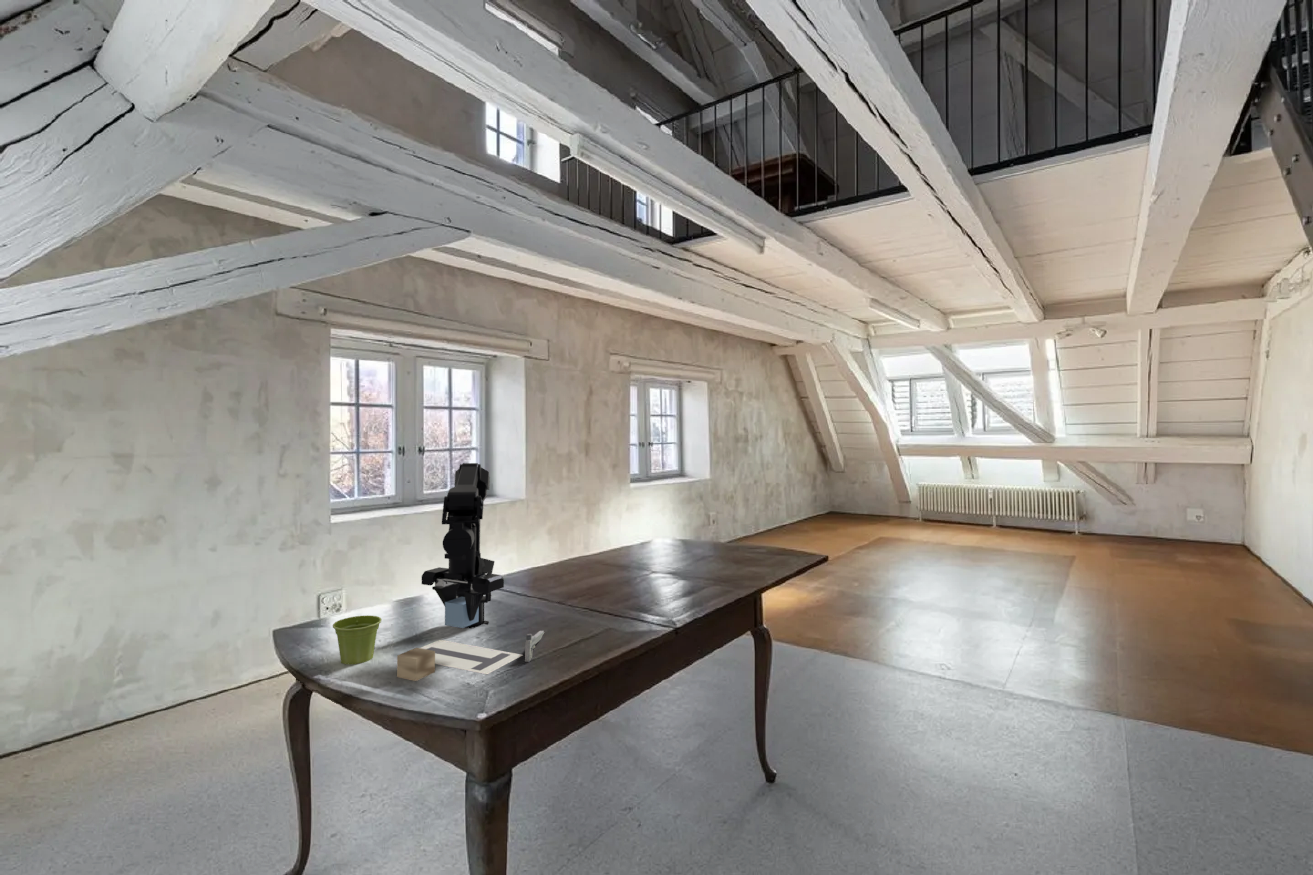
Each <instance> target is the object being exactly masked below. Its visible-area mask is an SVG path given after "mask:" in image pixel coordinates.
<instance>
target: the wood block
mask: <svg viewBox="0 0 1313 875" xmlns="http://www.w3.org/2000/svg"><path fill="white" fill-rule="evenodd" d="M396 660H397V662H396V663H397V666H396V668H397V670H396V671H397V672H396V678H400V679H405V680H410V681H414V682H417V681H419V680H421V679H424V678H426V677H427V676H430V675H432V674H434V673H436V664H435V651H432V650H427V649H422V648H421V647H415V648H412V649H410V650H407V651H405V652H402V653H399V654H398V655H397V656H396Z"/></svg>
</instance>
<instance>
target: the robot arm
mask: <svg viewBox="0 0 1313 875" xmlns="http://www.w3.org/2000/svg"><path fill="white" fill-rule="evenodd" d="M490 478H491V477H490V473H489V470H486V469H485V468H483V467H482V464H481V463H478V462H471V463H470V462H469V463H468V462H465V463H462V464H461V463H460V464H459V468H458V469H457V470H455V473H454V486H453V487H451V488H450V489H449V490H448V492H447V494H446V496H444V498H443V506H442V516H441V525H448V531H447V532H446V534H445V535H444V536H443V540H442V548H443V550H444V552H445V553H444V559H447V560H448V568H447V567H439V566H438V567H436V568H433V569H428V570H424V571H423V573H422V575H421V585H424V586H432V585H433V584H434V586H432V587H431V588H432V590H434V591H435V592H436V594H437V596H438V598H439V599H440V600H441V603H442V604H443V607H445V602H447V601H450V600H453V599H456V598H459V597H465V601H466V607H467V614H468V618H469V621H472V620H474V618H475V615H476V612H477V609H478V607H479V622H477V623H474V624H472V625H469V626H467V627H464V628H466V629H475V628H477V627H480V626H483V625H488V624H490V622H489V620H485V604H488V603H489V602H491V601H492V592H494V591H498V590H501V589H503V588H504V587H505V579H504V577H503V575H501V574H495V573H493V570H494V566H495V560H491V559H488V558H484V557H482V556H481V554H482V553H481V520H483V516H484V505H485V503H484V502H485V500H486V498H487V496H488V491H490V485H491V484H490V483H491V481H490ZM464 628H463V629H464Z"/></svg>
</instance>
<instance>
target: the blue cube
mask: <svg viewBox="0 0 1313 875" xmlns="http://www.w3.org/2000/svg"><path fill="white" fill-rule="evenodd" d="M477 622H479V607H478V609H477V612H476V615H475V618H474V620H472V621H469V618H468V614H467V607H466V601H465V597H459V598H456V599H453V600H450V601H447V602H445V606H444V626H447V627H454V628H460V629H464V627H467V626H469V625H472V624H474V623H477Z"/></svg>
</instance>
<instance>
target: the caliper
mask: <svg viewBox="0 0 1313 875" xmlns="http://www.w3.org/2000/svg"><path fill="white" fill-rule="evenodd" d="M544 631H545V630H539V631H538V632H536V633H535V634H534V635H533V633H527V634H525V635H526V638H525V639H526V640H525V646H524V651H525V652H524V655H525V656H524V657H525V658H524V659H525V660H524V662H525V663H530V662H531V659H532V658H533V650H534V649H536V645H537V644H538V642H540V641H541V639H542V637H543V635H544V633H545V632H544Z"/></svg>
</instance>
